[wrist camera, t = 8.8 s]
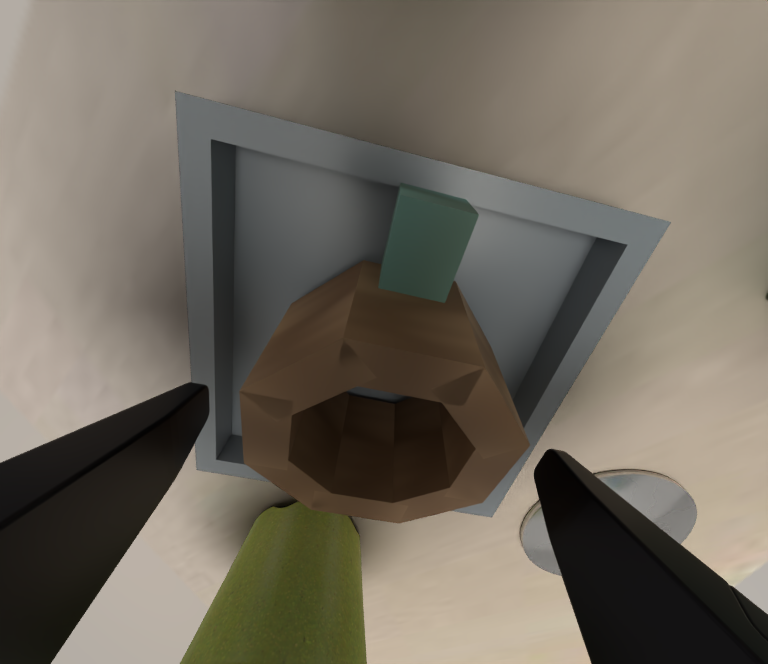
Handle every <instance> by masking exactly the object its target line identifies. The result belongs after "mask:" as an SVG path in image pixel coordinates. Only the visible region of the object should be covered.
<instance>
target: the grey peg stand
mask: <svg viewBox="0 0 768 664" xmlns="http://www.w3.org/2000/svg"><path fill="white" fill-rule="evenodd" d="M594 475H595V476H596V477H597V478H599V479H600V480H601V481H602V482H604V483H605V484H606V485H607V486H609V487H610V488H611V489H612V490H613V491H615V492H616V493H617V494H618V495H620V496H621V497H622V498H623V499H625V500H626V501H627V502H628V503H630V504H631V505H632V506H633V507H635V508H636V509H637V510H638V511H640V512H641V513H642V514H643V515H645V516H646V517H647V518H648V519H649V520H651V521H652V522H653V523H654V524H656V525H657V526H658V527H659V528H661V529H662V530H663V531H664V532H666V533H667V534H668V535H669V536H671V537H672V538H673V539H674V540H676V541H677V542H678V543H679V544H681V543H682V542H683V541H684V540H685V539H686V538H687V536H688V535H689V534H690V532H691V530H692V529H693V527H694V524H695V521H696V517H697V510H696V505H695V502H694V500H693V499H692V497H691V496H690V495H689V493H688V492H687V491H686V490H685V489H684V488H683V487H682V486H681V485H679V484H678V483H677V482H676V481H674V480H672V479H670V478H669V477H666V476H664V475H661V474H658V473H654V472H649V471H641V470H615V471H608V472H602V473H597V474H594ZM520 536H521V542H522V545H523V548H524V551H525V553H526V555H527V556H528V558H529V559H530V560H531V561H532V562H533V563H534V564H535V565H536V566H538V567H539V568H541V569H543V570H545V571H548V572H550V573H553V574H556V575H560V576H562V575H561V572H560V569H559V566H558V563H557V560H556V557H555V555H554V552H553V549H552V546H551V542H550V539H549V536H548V532H547V529H546V525H545V521H544V516H543V512H542V508H541V504H540V501H538V502H537V503H536V504H535V505H534V506H533V507H532V509H531V510H530V511H529V512H528V514H527V515H526V517H525V519H524V521H523V523H522V526H521V532H520Z"/></svg>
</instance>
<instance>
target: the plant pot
mask: <svg viewBox="0 0 768 664" xmlns="http://www.w3.org/2000/svg"><path fill="white" fill-rule="evenodd" d="M180 664H367V661H366V644H365V628H364V611H363V593H362V571H361V551H360V536H359V534H358V533H357V531H356V529H355V527H354V525H353V524H352V521H351V519H350V518H349V517H348V516H347V515H342V514H335V513H329V512H322V511H316V510H311V509H309V508H308V507H306V506H305V505H304V504H302V503H301V502H296V503H294V504H292V505H290V506H288V507H284V508H276V507H271V508H269V509H267V510H265V511H264V512H263V513H261V514H260V515H259V517H258V518H257V519H256V520H255V522H254V524H253V526H252V528H251V530H250V532H249V534H248V536H247V537H246V539H245V541H244V543H243V545H242V547H241V549H240V551H239V553H238V555H237V557H236V559H235V560H234V562H233V564H232V566H231V568H230V570H229V572H228V574H227V576H226V578H225V580H224V581H223V583H222V585H221V587H220V589H219V591H218V593H217V595H216V596H215V598H214V600H213V602H212V604H211V606H210V608H209V610H208V612H207V613H206V615H205V617H204V619H203V621H202V623H201V625H200V627H199V629H198V631H197V633H196V634H195V636H194V638H193V640H192V642H191V644H190V646H189V648H188V649H187V651H186V653H185V655H184V657H183V659H182V661H181V662H180Z"/></svg>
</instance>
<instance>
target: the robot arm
mask: <svg viewBox="0 0 768 664" xmlns="http://www.w3.org/2000/svg"><path fill="white" fill-rule="evenodd" d="M209 412H210V404H209V388H208V386H207V385H204V384H199V383H194V382H190V383H186V384H184V385H182V386H179V387H177V388H175V389H172V390H170V391H168V392H165V393H163V394H161V395H158V396H156V397H154V398H151V399H149V400H147V401H144V402H142V403H139V404H137V405H135V406H132V407H130V408H128V409H125V410H123V411H121V412H118V413H116V414H114V415H111V416H109V417H107V418H104V419H102V420H100V421H97V422H95V423H93V424H90V425H88V426H86V427H83V428H81V429H78V430H76V431H74V432H71V433H69V434H67V435H64V436H62V437H60V438H57V439H55V440H53V441H50V442H48V443H46V444H43V445H41V446H39V447H37V448H34V449H32V450H30V451H27V452H25V453H23V454H20V455H18V456H15V457H13V458H10V459H8V460H6V461H3V462H1V463H0V664H51V662H52V661H53V659H54V658H55V656H56V655H57V653H58V652H59V650H60V649H61V647H62V646H63V645H64V643H65V642H66V640H67V638H68V637H69V636H70V634H71V633H72V631H73V630H74V628H75V627H76V625H77V624H78V622H79V621H80V619H81V618H82V616H83V615H84V614H85V612H86V610H87V609H88V608H89V606H90V604H91V603H92V602H93V600H94V599H95V597H96V596H97V594H98V593H99V591H100V590H101V588H102V587H103V585H104V584H105V582H106V581H107V579H108V578H109V576H110V575H111V573H112V572H113V571H114V569H115V567H116V566H117V565H118V563H119V562H120V560H121V559H122V557H123V556H124V554H125V553H126V551H127V550H128V548H129V547H130V546H131V544H132V542H133V541H134V540H135V538H136V537H137V535H138V534H139V532H140V531H141V529H142V528H143V526H144V525H145V523H146V522H147V520H148V519H149V517H150V516H151V514H152V513H153V511H154V510H155V509H156V507H157V506H158V504H159V503H160V501H161V500H162V498H163V497H164V495H165V494H166V492H167V491H168V489H169V488H170V486H171V485H172V483H173V482H174V480H175V478H176V477H177V475H178V473H179V471H180V470H181V468H182V466H183V464H184V462H185V460H186V459H187V457H188V455H189V453H190V451H191V449H192V447H193V446H194V444H195V442H196V440H197V438H198V436H199V434H200V432H201V431H202V429H203V427H204V425H205V423H206V421H207V419H208V416H209ZM534 479H535V484H536V488H537V492H538V496H539V500H540V504H541V508H542V512H543V516H544V521H545V525H546V529H547V532H548V536H549V539H550V542H551V546H552V549H553V552H554V555H555V557H556V560H557V563H558V566H559V569H560V572H561V575H562V578H563V581H564V584H565V587H566V590H567V593H568V596H569V599H570V602H571V605H572V608H573V611H574V613H575V616H576V619H577V622H578V625H579V628H580V631H581V634H582V637H583V640H584V643H585V646H586V649H587V652H588V655H589V658H590V661H591V664H768V614H766V613H765V612H764V611H763V610H761V609H760V608H759V607H757V606H756V605H755V604H754V603H752V602H751V601H750V600H749V599H748V598H746V597H745V596H744V595H743V594H742V593H740V592H739V591H738V590H737V589H735V588H734V587H733V586H730V585H729V584H728V583H727V582H726V581H725V580H724V579H723V578H722V577H720V576H719V575H718V574H717V573H715V572H714V571H713V570H712V569H710V568H709V567H708V566H707V565H705V564H704V563H703V562H702V561H700V560H699V559H698V558H697V557H695V556H694V555H693V554H692V553H690V552H689V551H688V550H687V549H685V548H684V547H683V546H682V545H681V544H679V543H678V542H677V541H676V540H674V539H673V538H672V537H671V536H669V535H668V534H667V533H666V532H664V531H663V530H662V529H661V528H659V527H658V526H657V525H656V524H654V523H653V522H652V521H651V520H649V519H648V518H647V517H646V516H645V515H643V514H642V513H641V512H640V511H638V510H637V509H636V508H635V507H633V506H632V505H631V504H630V503H628V502H627V501H626V500H625V499H623V498H622V497H621V496H620V495H618V494H617V493H616V492H615V491H613V490H612V489H611V488H610V487H609V486H607V485H606V484H605V483H604V482H602V481H601V480H600V479H599V478H597V477H596V476H595V475H594V474H592V473H591V472H590V471H589V470H587V469H586V468H585V467H584V466H582V465H581V464H580V463H579V462H577V461H576V460H575V459H574V458H572V457H571V456H570V455H569V454H568V453H566V452H564V451H561V450H555V449H549V450H547V451H546V452H545V453H544V455H543V457H542V458H541V460H540V461H539V463H538V464H537V466H536V468H535V470H534Z"/></svg>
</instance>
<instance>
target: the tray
mask: <svg viewBox="0 0 768 664" xmlns="http://www.w3.org/2000/svg"><path fill="white" fill-rule="evenodd" d="M175 100H176V118H177V135H178V153H179V170H180V188H181V205H182V223H183V240H184V258H185V275H186V293H187V310H188V328H189V345H190V363H191V380H192V382H194V383H199V384H204V385H207V386H208V388H209V404H210V412H209V416H208V419H207V421H206V423H205V425H204V427H203V429H202V431H201V432H200V434H199V436H198V438H197V440H196V442H195V450H196V468H197V470H200V471H206V472H212V473H218V474H225V475H231V476H237V477H243V478H249V479H256V480H262V481H268V482H270V481H269V480H267V479H266V478H265V477H263V476H262V475H260V474H259V473H257V472H256V471H254V470H253V469H252V468H250V467H249V466H247V465H246V464H244V458H243V442H242V426H241V410H240V394H239V391H240V389H241V387H242V386H243V384H244V382H245V381H246V379H247V377H248V376H249V374H250V372H251V371H252V369H253V367H254V366H255V364H256V362H257V360H258V359H259V357H260V355H261V354H262V352H263V350H264V349H265V347H266V345H267V344H268V342H269V340H270V339H271V337H272V335H273V334H274V332H275V330H276V329H277V327H278V325H279V324H280V322H281V320H282V319H283V317H284V315H285V313H286V312H287V310H288V308H289V307H290V305H291V303H293V302H295V301H296V300H298V299H300V298H301V297H303V296H305V295H306V294H308V293H310V292H311V291H313V290H315V289H316V288H318V287H320V286H321V285H323V284H325V283H326V282H328V281H330V280H331V279H333V278H335V277H336V276H338V275H340V274H341V273H343V272H345V271H346V270H348V269H350V268H351V267H353V266H355V265H356V264H358V263H359V262H361V261H363V260H365V261H370V262H374V263H378V264H382V259H383V255H384V251H385V247H386V242H387V238H388V234H389V230H390V225H391V221H392V217H393V213H394V208H395V204H396V200H397V195H398V191H399V187H400V183H405V184H408V185H412V186H416V187H420V188H424V189H428V190H432V191H436V192H439V193H443V194H447V195H451V196H455V197H459V198H463V199H467V201H468V202H469V203H470V204H471V205H472V207H473V208H474V209H475V210H476V212H477V213H478V214H479V217H478V219H477V222H476V224H475V227H474V229H473V232H472V235H471V237H470V240H469V242H468V245H467V247H466V250H465V253H464V255H463V258H462V260H461V263H460V265H459V268H458V271H457V273H456V276H455V278H454V281H456V283H457V285H458V287H459V288H460V290H461V292H462V294H463V296H464V298H465V299H466V301H467V303H468V305H469V307H470V309H471V311H472V312H473V314H474V316H475V318H476V320H477V322H478V323H479V325H480V327H481V329H482V331H483V333H484V335H485V336H486V338H487V340H488V342H489V344H490V346H491V348H492V350H493V353H494V355H495V358H496V360H497V363H498V365H499V368H500V370H501V373H502V375H503V378H504V380H505V383H506V385H507V388H508V390H509V393H510V395H511V398H512V401H513V403H514V406H515V408H516V411H517V413H518V416H519V418H520V421H521V423H522V426H523V428H524V431H525V433H526V436H527V438H528V441H529V443H530V446H529V447H528V449H527V450H526V451H525V452H524V454H523V455H522V456H521V457H520V458H519V460H518V461H517V462H516V463H515V464H514V466H513V467H512V468H511V469H510V471H509V472H508V473H507V474H506V475H505V477H504V478H503V479H502V480H501V481H500V483H499V484H498V485H497V486H496V487H495V489H494V490H493V491H492V492H491V494H490V495H489V496H488V497H487V498H486V500H485V501H484V502H483V503H480V504H476V505H472V506H468V507H464V508H460V509H456V510H452V511H455V512H461V513H468V514H474V515H480V516H486V517H492V516H493V515H494V513H495V512H496V510H497V508H498V507H499V505H500V503H501V502H502V500H503V498H504V497H505V495H506V493H507V492H508V490H509V488H510V487H511V485H512V483H513V482H514V480H515V479H516V477H517V475H518V474H519V472H520V470H521V469H522V467H523V465H524V464H525V462H526V460H527V459H528V457H529V455H530V454H531V452H532V451H533V449H534V447H535V446H536V444H537V442H538V441H539V439H540V437H541V436H542V434H543V432H544V431H545V429H546V427H547V426H548V424H549V422H550V421H551V419H552V418H553V416H554V414H555V413H556V411H557V409H558V408H559V406H560V404H561V403H562V401H563V399H564V398H565V396H566V394H567V393H568V391H569V389H570V388H571V386H572V385H573V383H574V381H575V380H576V378H577V376H578V375H579V373H580V371H581V370H582V368H583V366H584V365H585V363H586V361H587V360H588V358H589V356H590V355H591V353H592V352H593V350H594V348H595V347H596V345H597V343H598V342H599V340H600V338H601V337H602V335H603V333H604V332H605V330H606V328H607V327H608V325H609V323H610V322H611V320H612V319H613V317H614V315H615V314H616V312H617V310H618V309H619V307H620V305H621V304H622V302H623V300H624V299H625V297H626V295H627V294H628V292H629V291H630V289H631V287H632V286H633V284H634V282H635V281H636V279H637V277H638V276H639V274H640V272H641V271H642V269H643V267H644V266H645V264H646V262H647V261H648V259H649V258H650V256H651V254H652V253H653V251H654V249H655V248H656V246H657V244H658V243H659V241H660V239H661V238H662V236H663V234H664V233H665V231H666V229H667V228H668V226H669V225H670V223H671V222H669V221H665V220H661V219H657V218H653V217H650V216H646V215H642V214H638V213H635V212H631V211H627V210H623V209H619V208H616V207H612V206H608V205H604V204H601V203H597V202H593V201H589V200H585V199H582V198H578V197H574V196H570V195H567V194H563V193H559V192H555V191H551V190H548V189H544V188H540V187H536V186H533V185H529V184H525V183H521V182H517V181H514V180H510V179H506V178H502V177H499V176H495V175H491V174H487V173H483V172H480V171H476V170H472V169H468V168H465V167H461V166H457V165H453V164H449V163H446V162H442V161H438V160H434V159H431V158H427V157H423V156H419V155H416V154H412V153H408V152H404V151H400V150H397V149H393V148H389V147H385V146H382V145H378V144H374V143H370V142H366V141H363V140H359V139H355V138H351V137H348V136H344V135H340V134H336V133H332V132H329V131H325V130H321V129H317V128H314V127H310V126H306V125H302V124H298V123H295V122H291V121H287V120H283V119H280V118H276V117H272V116H268V115H264V114H261V113H257V112H253V111H249V110H246V109H242V108H238V107H234V106H230V105H227V104H223V103H219V102H215V101H212V100H208V99H204V98H200V97H196V96H193V95H189V94H185V93H181V92H178V91H175ZM346 392H347V393H348V394H349V395H351V396H356V397H361V398H366V399H372V400H377V401H382V402H387V403H393V404H396V403H398V402H401V401H403V400H406V399H408V398H411V397H410V396H405V395H400V394H395V393H390V392H385V391H380V390H374V389H369V388H364V387H359V386H357V387H355V388H352V389H350V390H348V391H346Z"/></svg>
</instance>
